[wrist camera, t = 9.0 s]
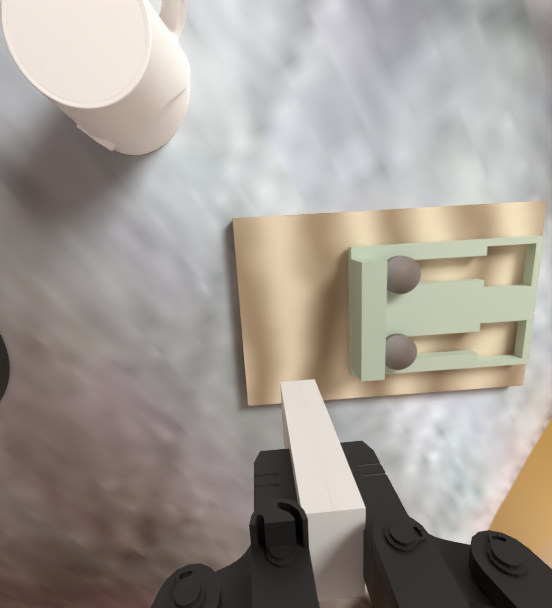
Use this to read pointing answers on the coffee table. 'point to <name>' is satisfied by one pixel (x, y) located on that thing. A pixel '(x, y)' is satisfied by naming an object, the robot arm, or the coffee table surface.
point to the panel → (434, 306)
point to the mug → (105, 65)
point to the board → (320, 295)
